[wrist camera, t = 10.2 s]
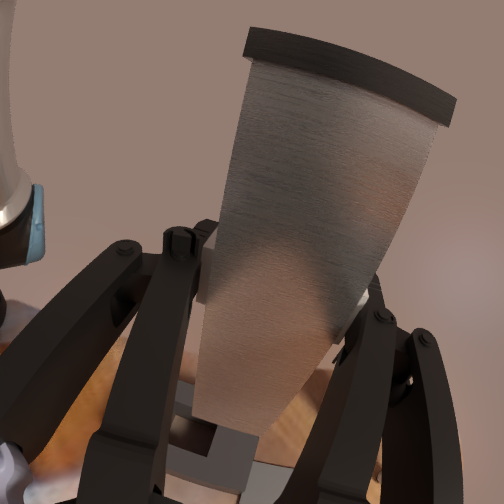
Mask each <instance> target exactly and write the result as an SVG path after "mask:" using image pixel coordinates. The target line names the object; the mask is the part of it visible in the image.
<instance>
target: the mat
mask: <svg viewBox="0 0 504 504" xmlns="http://www.w3.org/2000/svg"><path fill="white" fill-rule="evenodd" d="M293 470H294V469H292V468H286V467H280V466H275V465H270V464H265V463H260V462H256V461H253V464H252V467H251V471H250V475H249V479H248V482H247V486H246V490H245V492H244V493H242V494H241V497H240V500H239V504H273V503H274V502H275V501H276V500H277V499H278V498H279V496H280V495H281V493H282V492H283V490H284V488H285V486H286V484H287V482H288V480H289V478H290V476H291V474H292V472H293Z"/></svg>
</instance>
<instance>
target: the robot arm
mask: <svg viewBox="0 0 504 504" xmlns="http://www.w3.org/2000/svg"><path fill="white" fill-rule="evenodd" d="M15 5H16V0H0V269H5V268H10V267H15V266H20V265H28V263H32V262H35V261H39V260H41V259H42V258H43V256H44V254H45V230H44V229H45V228H44V190H43V186H42V185H37V184H33V185H31V181H30V177H29V175H28V174H27V173H26V172H25V171H24V170H23V169H22V168H19V167H18V166H17V161H16V155H15V149H14V142H13V135H12V126H11V115H10V101H9V56H10V41H11V32H12V23H13V17H14V10H15ZM218 224H219V222H216V221H212V220H209V219H205V220H203V221H200V222H198V223H197V224H196V226H195V227H194V229H191V228H187V227H181V226H177V227H171V228H169V229H167V230H166V231H165V232H164V233H163V252H162V254H150V253H142V246H141V245H140V244H139V243H138V242H136V241H133V240H120V241H116V242H115V243H113V244H111V245H110V246H109V247H108V248H107V249H106V250H104V251H103V252H102V253H101V254H100V255H99V256H98V257H97V258H95V259H94V260H93V261H92V262H91V263H90V264H89V265H87V266H86V267H85V268H84V269H83V270H82V271H81V272H80V273H79V274H78V275H77V276H75V277H74V278H73V279H72V280H71V281H70V282H69V283H68V284H67V285H66V286H65V287H64V288H63V289H62V290H61V291H60V292H59V293H58V294H57V295H56V296H55V297H54V298H53V299H52V300H51V301H50V302H49V303H48V304H47V305H46V306H45V307H44V308H43V309H42V310H41V311H40V312H39V313H38V314H37V315H36V316H35V317H34V318H33V319H32V320H31V321H30V322H29V324H28V325H27V326H26V327H25V328H24V329H23V330H22V331H21V332H20V333H19V335H18V336H17V337H16V338H15V339H14V340H13V341H12V343H11V344H10V345H9V346H8V347H7V348H6V350H5V351H4V352H3V353H2V354H1V356H0V504H24V500H23V494H24V490H25V489H26V487H27V486H28V484H30V483H31V482H32V480H33V474H32V472H31V470H30V468H29V464H30V463H31V462H32V461H33V460H35V458H36V457H37V456H38V455H39V454H40V453H41V452H42V451H43V449H44V448H45V446H46V445H47V443H48V442H49V441H50V439H51V437H52V436H53V434H54V432H55V431H56V429H57V428H58V426H59V424H60V423H61V421H62V419H63V418H64V416H65V415H66V413H67V412H68V410H69V409H70V407H71V405H72V404H73V402H74V401H75V399H76V398H77V396H78V395H79V393H80V392H81V390H82V389H83V387H84V386H85V384H86V383H87V381H88V380H89V378H90V377H91V375H92V374H93V373H94V371H95V370H96V368H97V367H98V365H99V364H100V362H101V361H102V360H103V358H104V357H105V355H106V354H107V353H108V351H109V350H110V348H111V347H112V346H113V344H114V343H115V341H116V340H117V339H118V337H119V336H120V335H121V333H122V332H123V330H124V329H125V328H126V326H127V325H128V324H129V322H130V321H131V320H132V318H133V317H134V316H135V314H136V313H137V312H138V313H137V316H136V318H135V321H134V324H133V326H132V329H131V332H130V335H129V337H128V340H127V343H126V346H125V349H124V352H123V355H122V358H121V361H120V364H119V367H118V370H117V373H116V376H115V379H114V383H113V386H112V389H111V392H110V396H109V399H108V403H107V406H106V410H105V413H104V417H103V421H102V424H101V427H100V428H99V430H97V431H96V432H94V433H93V434H92V436H91V438H90V440H89V443H88V446H87V450H86V454H85V458H84V463H83V467H82V472H81V477H80V482H79V488H78V493H77V498H74V499H71V500H67V501H63V502H59V503H55V504H183V503H181V502H178V501H175V500H172V499H170V498H167V497H164V486H165V469H166V457H167V449H168V442H169V435H170V428H171V421H172V414H173V408H174V401H175V395H176V389H177V383H178V377H179V372H180V366H181V361H182V355H183V350H184V344H185V339H186V334H187V329H188V324H189V319H190V314H191V309H192V301H193V298H194V297H195V295H196V293H197V296H196V302H199V303H201V304H206V297H207V291H208V284H209V278H210V271H211V265H212V259H213V253H214V247H215V241H216V235H217V229H218ZM5 315H6V301H5V299H4V296H3V294H2V292H1V290H0V327H1V325H2V323H3V321H4V318H5ZM344 336H345V345H344V346H343V348H342V349H341V350H340V352H339V353H338V354H337V356H336V357H335V359H334V360H333V362H332V363H333V364H334V363H335V362H336V361H337V362H336V365H335V368H334V371H333V374H332V377H331V379H330V382H329V385H328V388H327V391H326V394H325V396H324V399H323V402H322V404H321V407H320V410H319V412H318V415H317V417H316V420H315V422H314V425H313V427H312V430H311V432H310V434H309V437H308V439H307V441H306V444H305V446H304V448H303V451H302V453H301V455H300V457H299V459H298V461H297V464H296V466H295V468H294V470H293V472H292V474H291V476H290V478H289V480H288V482H287V484H286V486H285V488H284V490H283V492H282V493H281V495H280V496H279V498H278V499H277V500H276V501H275V502H274V503H273V504H370V503H369V502H368V501H367V499H366V493H367V490H368V486H369V483H370V480H371V477H372V473H373V470H374V466H375V462H376V459H377V455H378V451H379V447H380V442H381V438H382V479H381V496H380V504H463V475H462V462H461V452H460V444H459V436H458V429H457V423H456V417H455V412H454V407H453V402H452V397H451V393H450V388H449V384H448V380H447V376H446V372H445V368H444V365H443V361H442V357H441V354H440V350H439V347H438V344H437V341H436V339H435V337H433V335H432V334H431V333H430V332H429V331H427V330H425V329H423V328H416V329H414V331H413V332H412V333H411V334H409V333H408V332H406V331H404V330H402V329H400V328H399V327H397V322H396V318H395V317H394V315H393V314H392V313H391V312H390V311H389V310H388V309H386V308H385V304H384V299H383V295H382V291H381V287H380V283H379V278H378V276H377V275H376V273H375V274H374V276H373V278H372V280H371V282H370V284H369V285H368V287H367V289H366V291H365V292H364V294H363V296H362V298H361V299H360V301H359V303H358V304H357V306H356V308H355V309H354V311H353V313H352V314H351V316H350V318H349V319H348V321H347V322H346V324H345V326H344V327H343V329H342V330H341V332H340V333H339V335H338V337H337V338H336V340H335V341H334V343H333V344H339V343H340V342H341V340H342V339H343V338H344ZM411 377H412V378H413V383H412V384H410V381H409V379H410V378H411Z"/></svg>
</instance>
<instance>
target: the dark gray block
mask: <svg viewBox="0 0 504 504" xmlns="http://www.w3.org/2000/svg"><path fill="white" fill-rule="evenodd" d="M194 389H195V385H192V384H189V383H187V382H184V381H181V380H179V379H178V383H177V389H176V395H175V401H174V408H173V414H172V421H171V424H172V422H173V420H174V417H175V415H178V416H181V417H183V418H186V419H189V420H192V421H194V422H197V423H200V424H203V425H206V426H209V427H212V428H215V429H216V431H215V434H214V437H213V440H212V442H211V445H210V448H209V451H208V454H207V457H204V456H201V455H198V454H195V453H192V452H189V451H187V450H184V449H181V448H179V447H176V446H173V445H171V444H168V449H167V457H166V469H165V473H167V474H170V475H172V476H175V477H178V478H181V479H183V480H186V481H189V482H192V483H195V484H198V485H202V486H205V487H208V488H212V489H215V490H219V491H223V492H227V493H231V494H235V495H238V494H241V493H244V492H245V490H246V486H247V482H248V479H249V475H250V471H251V467H252V464H253V460H254V456H255V452H256V448H257V444H258V440H259V436H256V435H252V434H248V433H244V432H241V431H237V430H234V429H230V428H227V427H224V426H221V425H217V424H214V423H211V422H208V421H205V420H203V419H200V418H197V417H194V416H192V407H193V398H194Z"/></svg>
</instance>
